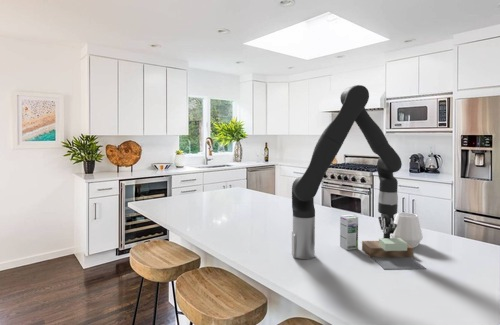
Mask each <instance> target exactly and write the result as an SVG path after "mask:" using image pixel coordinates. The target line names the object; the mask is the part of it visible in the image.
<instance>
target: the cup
mask: <svg viewBox="0 0 500 325" xmlns="http://www.w3.org/2000/svg"><path fill="white" fill-rule="evenodd" d="M394 224H397V227H396V229H395V231H394V233H393V234H392V233H391V234H390V237H391V238H401V239H402V240H403V241H405V242H406V243H408V244H409V245H410V246H411V247H413V248H416V247H418V245H419V244H420V242H421V241H422V240H423V232H422V228H421V223H420V220H419V216H418V215H417V214H416V213H412V212H406V211H405V212H403V211H402V212H397V214H395V216H394Z"/></svg>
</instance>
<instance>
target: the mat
mask: <svg viewBox="0 0 500 325" xmlns="http://www.w3.org/2000/svg"><path fill="white" fill-rule="evenodd" d="M372 259H373V260H374V261H375V262H376V263H377V264H378V265H379V266H380V267H381V268H382V269H383V270H427V267H426V266H425V265H423V264H421V263H420V262H418V261H417V260H416V259H415V258H414V257H373V258H372Z"/></svg>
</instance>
